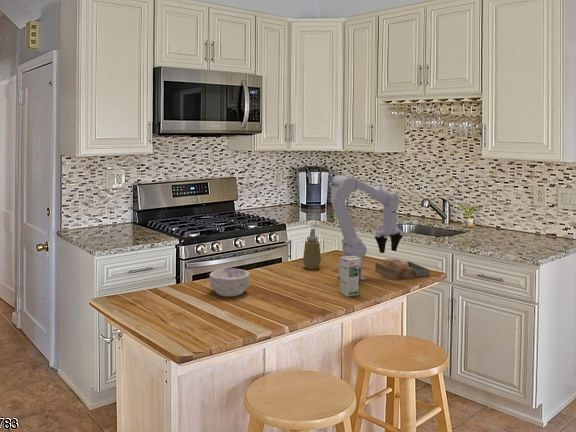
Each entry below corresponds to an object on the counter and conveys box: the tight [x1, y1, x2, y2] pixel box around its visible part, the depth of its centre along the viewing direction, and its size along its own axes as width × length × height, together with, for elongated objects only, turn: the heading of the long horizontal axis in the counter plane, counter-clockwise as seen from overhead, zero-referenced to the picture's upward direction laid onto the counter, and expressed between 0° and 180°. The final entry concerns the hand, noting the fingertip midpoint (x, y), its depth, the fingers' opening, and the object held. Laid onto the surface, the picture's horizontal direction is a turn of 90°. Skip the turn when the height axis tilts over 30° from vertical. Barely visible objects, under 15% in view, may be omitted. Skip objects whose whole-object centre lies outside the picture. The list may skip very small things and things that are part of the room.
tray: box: [404, 261, 430, 279], centre depth 252 cm, size 7×15×3 cm, turn 21°
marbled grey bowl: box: [209, 268, 251, 297], centre depth 218 cm, size 15×15×8 cm
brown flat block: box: [375, 261, 415, 281], centre depth 248 cm, size 10×15×4 cm, turn 21°
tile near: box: [392, 260, 409, 269], centre depth 246 cm, size 5×5×2 cm
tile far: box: [384, 257, 402, 266], centre depth 251 cm, size 5×5×2 cm
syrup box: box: [339, 256, 362, 298], centre depth 218 cm, size 6×6×14 cm
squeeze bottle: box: [302, 228, 322, 271], centre depth 256 cm, size 8×8×18 cm
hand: (387, 251), depth 249 cm, fingers open, 7 cm apart
